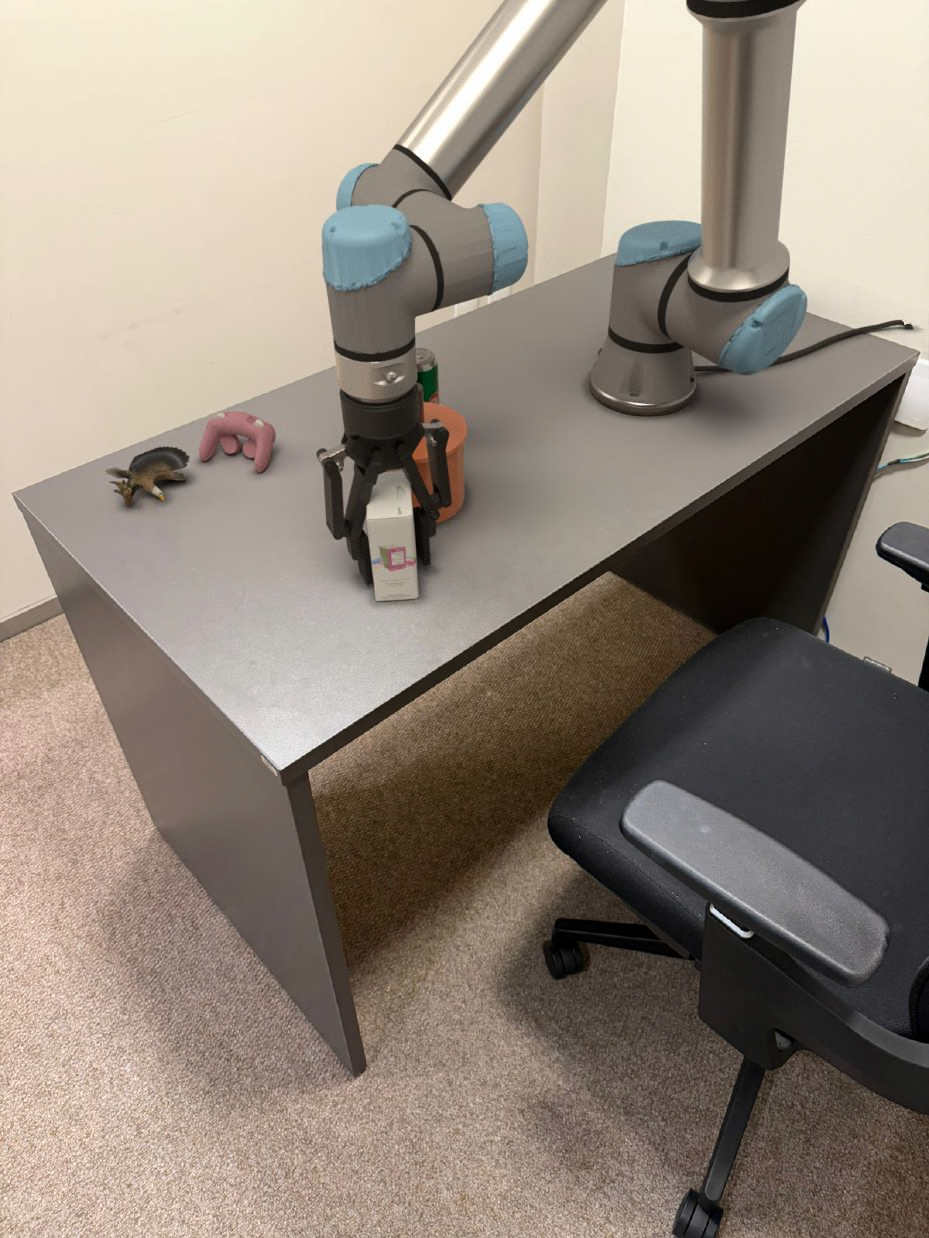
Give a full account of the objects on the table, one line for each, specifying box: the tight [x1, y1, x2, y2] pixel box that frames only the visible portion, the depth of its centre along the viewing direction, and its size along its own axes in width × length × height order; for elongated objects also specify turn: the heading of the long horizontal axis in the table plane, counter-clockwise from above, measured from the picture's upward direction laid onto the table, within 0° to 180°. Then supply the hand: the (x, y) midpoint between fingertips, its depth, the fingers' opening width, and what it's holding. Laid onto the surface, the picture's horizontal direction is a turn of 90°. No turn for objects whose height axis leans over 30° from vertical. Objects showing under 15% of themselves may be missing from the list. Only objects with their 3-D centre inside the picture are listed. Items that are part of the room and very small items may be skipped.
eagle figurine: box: [104, 445, 191, 507], centre depth 108 cm, size 8×7×9 cm
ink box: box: [366, 470, 419, 602], centre depth 94 cm, size 9×5×12 cm, turn 5°
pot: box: [388, 443, 465, 524], centre depth 106 cm, size 11×11×10 cm
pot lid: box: [412, 383, 468, 463], centre depth 100 cm, size 12×12×7 cm
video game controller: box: [198, 411, 277, 473], centre depth 114 cm, size 10×5×7 cm, turn 71°
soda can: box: [416, 347, 440, 405], centre depth 115 cm, size 5×5×12 cm
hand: (394, 567), depth 98 cm, fingers closed on ink box, 6 cm apart
